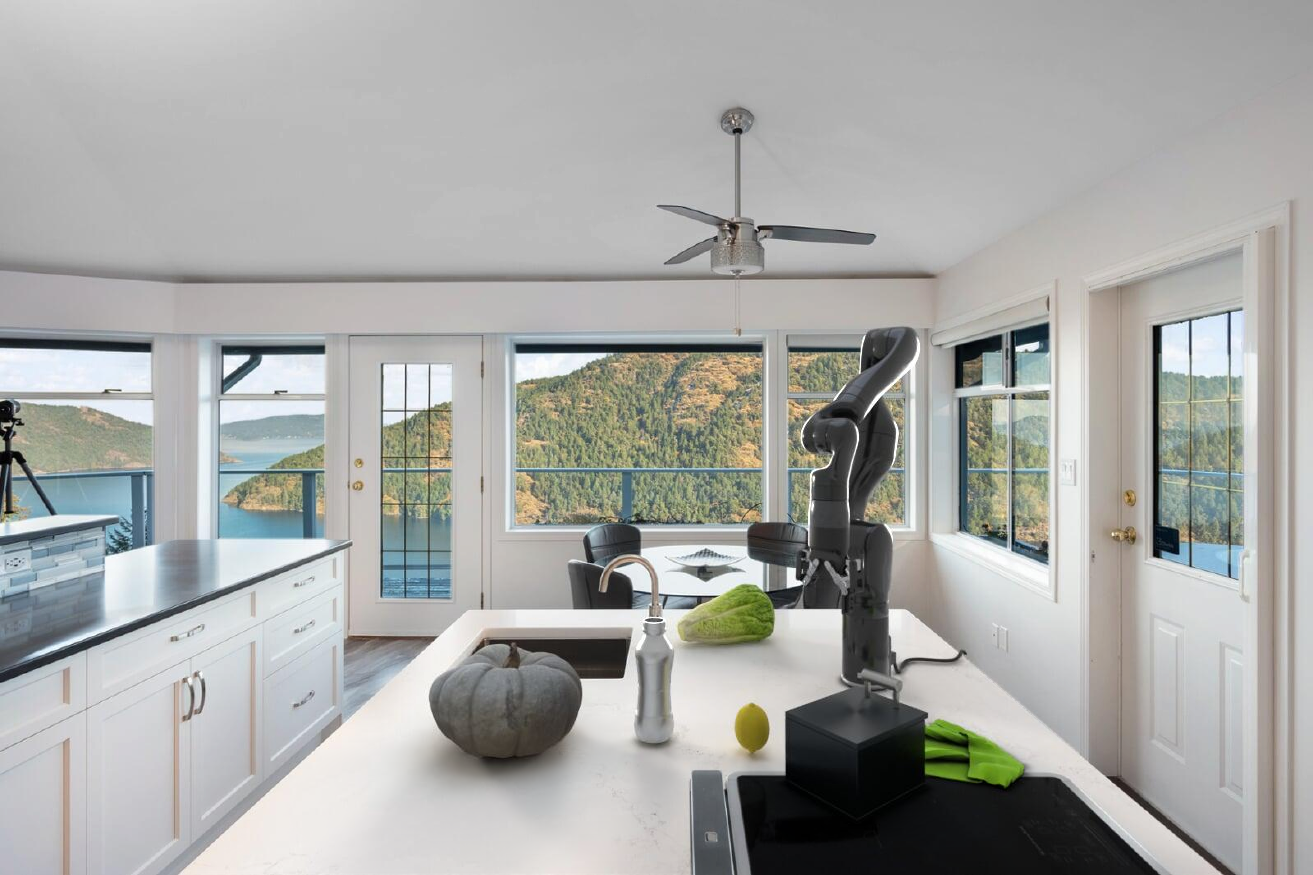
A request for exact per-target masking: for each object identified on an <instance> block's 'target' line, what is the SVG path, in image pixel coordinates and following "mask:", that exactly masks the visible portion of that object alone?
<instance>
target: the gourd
mask: <svg viewBox="0 0 1313 875" xmlns="http://www.w3.org/2000/svg"><path fill="white" fill-rule="evenodd" d="M582 700H583V686H582V682H581V678H580V676H579V675H578V673H577V671H576V670H575V669H574V668H573V666H571V664H570V663H569V662H568V661H566V660H565V659H563V658H561V657H560V656H559V655H557V654H555V653H550V652H546V651H536V652H532V651H529V650H526V649H523V648H521V647H518V645H517V643H516V642H511V643H510V645H508V644H505V643H498V644H497V643H495V644H489V645H486V646H483V647H482V648H480V649H479V650H477V651H475V653H474V654H471V655H470V656H467V657H466V658H464V659H463V660H462V661H461V662H460V663H458V664H457V666H456V667H453V668H451V669H448V670H446V671H444V672H443V673H441V674H439V675H438V676H437V677H436V678H435V679H434V680H433V682H432V683H431V686H430V688H429V692H428V703H429V707H430V712H431V714H432V718H433V719H434V722H435V725H436V726H437V728H438V730H439V731H440V733H442V734H443V736H444V737H446V738H447V739H449V740H450V741H452V743H454V744H455V745H456V747H458V748H459V749H460V750H462V751H464V752H465V753H466V754H469V755H472V756H474V757H477V758H487V757H490V758H491V757H492V758H499V759H507V758H510V757H514V756H515V757H518V758H520V757H525V756H536V755H540V754H542V753H545V751H547V750H549V749H550V748H552V747H555V745H557V744H559V743H560V742H561V741H562V740H564V739H565V737H566V736H568V734H569V733H570V732H571V731H572V729H573V727H574V725H575V723H576V721H577V719H578V715H579V713H580V712H579V711H580V710H581V706H582Z"/></svg>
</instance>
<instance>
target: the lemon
mask: <svg viewBox="0 0 1313 875" xmlns="http://www.w3.org/2000/svg"><path fill="white" fill-rule="evenodd" d="M770 730H771V727H770V722H769V718H768V715H767V713H766V711H765V710H764V709H763V708H762V707H761V706H760V705H758V704H755V702H749V703H748V704H745V705H743V706H742V707H741V708H740V709H738V711H737V712H736V716H735V720H734V735H735V738H736V740H737V742H738V744H739V746H741V747H742V748H743V749H745V750H747V751H748V752H749V753H750V754H754V753H756V752H757V751H759V750H761V749H763V748H764V747H765V746H766V744H767V743H768V741H769V738H770Z"/></svg>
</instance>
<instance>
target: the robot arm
mask: <svg viewBox="0 0 1313 875" xmlns="http://www.w3.org/2000/svg"><path fill="white" fill-rule="evenodd" d="M861 342H862V343H861V347H860V358H859V373H858V374H856V375H855V376H854V377H851V379H850V380H848V381H847V382H846V383H845V384H844V385H843V386H842V388H841V389H840V390H839V392H838V393H837V394H836V395H835V397H834V399H832V401H831V402H829V403H828V404H826V405H824V406H823V407H822V408H820V409H819V410H818V411H816V412H815V413H814V414H812V415H811V416H810V417H809V418H808V419H807V420H806V422H805V423H804V425H803V427H802V429H801V433H800V442H801V444H802V447H803V448H804V450H805V451H806V452H807V453H810V454H812V455H816V456H817V455H818V456H831V459H830V461H829V463H828V465H826V466H822V467H817V468H815V469H813V470H812V471H811V473H810V476H809V479H810V480H809V481H810V482H809V506H808V522H807V523H808V531H807V532H808V534H807V535H808V537H807V544H808V545H807V546H808V547H809V548H810V550H809V549H808V548H807V549H798V550H797V551H796V563H795V580H796V581H800V582H801V583H802V585H803V587H804V589H803V592H804V594H803V595H804V596H803V600H804V602H805V605H806V606H809V607H812V606H815V605H816V604H817V585H816V583H817V581H818V580H819V579H820V578H825V579H829V580H833V582H834V584H835V585H837V587H838V588H839V589H840V591H841V598H840V599H841V610H840V614H841V681H842V682H843V683H844V684H845V685H846V686H849V687H850V688H852V687H855V686H857V687H860V688H863V689H864V680H862V678H861V673H862V671H863V669H869V670H872V671H875V672H878V673H881V674H884V675H887V676H890V677H892V666H893V670H894V672H895V673H896V674H901V673H902V672H903V669H904V668H905V665H906V664H908V663H910V662H911V663H912V662H929V663H941V664H943V663H954V662H957V661H958V660H960V659H961V657H962V655H964V656H967V655H968V653H967V650H965V649H964V648H961V649H960V650H959V651H958V653H957V655H956V656H955V657H952V658H932V657H917V656H915V657H908V658H905V659H903V661H901V663H900V665H899V667H898V664H897V651H893V650H892V636H891V634H890V590H891V587H892V580H893V563H894V562H893V561H894V537H893V534H892V531H891V529H890V527H889V526H888V525H887V524H885V523H884V522H879V521H871V520H865V515H866V510H867V507H868V503H869V500H870V499H871V496H872V495H873V493H874V492H875V491H876V489H877V487H878V486H879V485H880V484H881V482H883V480H884V479H885V477H886V476H887V474H888V473H889V472H890V471H891V469H892V467H893V465H894V463H895V461H896V460H895V459H896V455H897V454H896V453H897V447H898V440H899V428H898V425H897V422H896V420H895V417H894V416H893V414H892V412H891V410H890V408H889V406H888V404H887V402H886V400H885V398H884V394H885V393H886V392H887V391H888V390H889V389H890V388H891V387H892V386H893V385H895V384H896V383H897V382H898V381H899V380H900V379H901V378H902V377H903V376H904V375H905V374H906V373H907V372H908V371H909V370H911V368H912V367H913V366H915V364H916V363H917V361H918V358H919V356H920V352H921V342H920V338H919V334H918V332H917V331H916V329H914V328H913V327H911V326H906V325H900V326H899V325H898V326H889V327H888V326H887V327H878V328H871V329H869V330H867V331H866V333H865V334H864V336H863V338H862V341H861ZM810 563H811V565H810ZM883 689H885V688H884V687H881V686H878V685H875V684H873V683H871V691H878V690H883Z"/></svg>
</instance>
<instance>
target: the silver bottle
mask: <svg viewBox="0 0 1313 875" xmlns="http://www.w3.org/2000/svg"><path fill="white" fill-rule="evenodd" d="M642 632H643V633H644V634H643V635H642V637H641V639H640V640H639V641H638V643H637V644H636V647H635V650H634V657H635V665H636V672H637V689H638V690H637V701H636V702H637V703H636V710H635V715H634V722H633V727H634V728H633V729H634V733H635V736H636V737H637V739H638V740H639V741H641V742H643V743H647V744H660V743H664V742H666V741H667V742H668V740H670V738H671V736H672V735H673V732H674V728H675V719H674V713H673V709H672V708H673V707H672V695H671V694H672V693H671V688H672V687H671V686H672V685H671V683H672V672H673V665H674V658H675V648H674V646H673V644H672V642H671V641H670V640H669V638H668V637H667V636H666V634H665V633H666V632H667V627H666V619H665V618H664V617H656V616H655V617H654V616H651V617H646V618H644V619H643V621H642Z"/></svg>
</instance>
